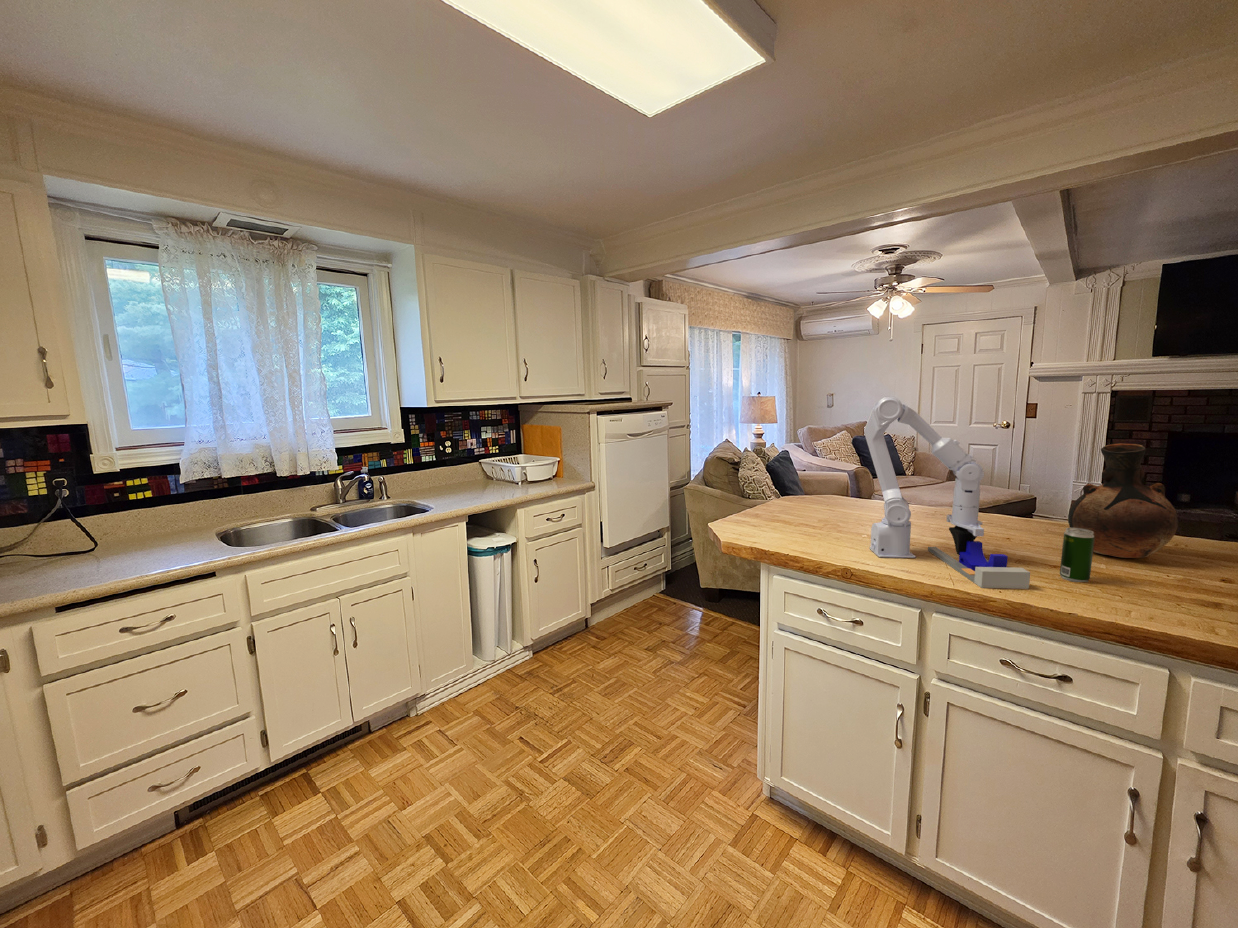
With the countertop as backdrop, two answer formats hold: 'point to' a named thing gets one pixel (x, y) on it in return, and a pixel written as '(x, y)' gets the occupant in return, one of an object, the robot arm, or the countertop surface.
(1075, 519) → the ceramic vessel
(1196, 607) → the countertop surface
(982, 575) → the cable guide
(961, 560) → the cable clip
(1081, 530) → the beer can
